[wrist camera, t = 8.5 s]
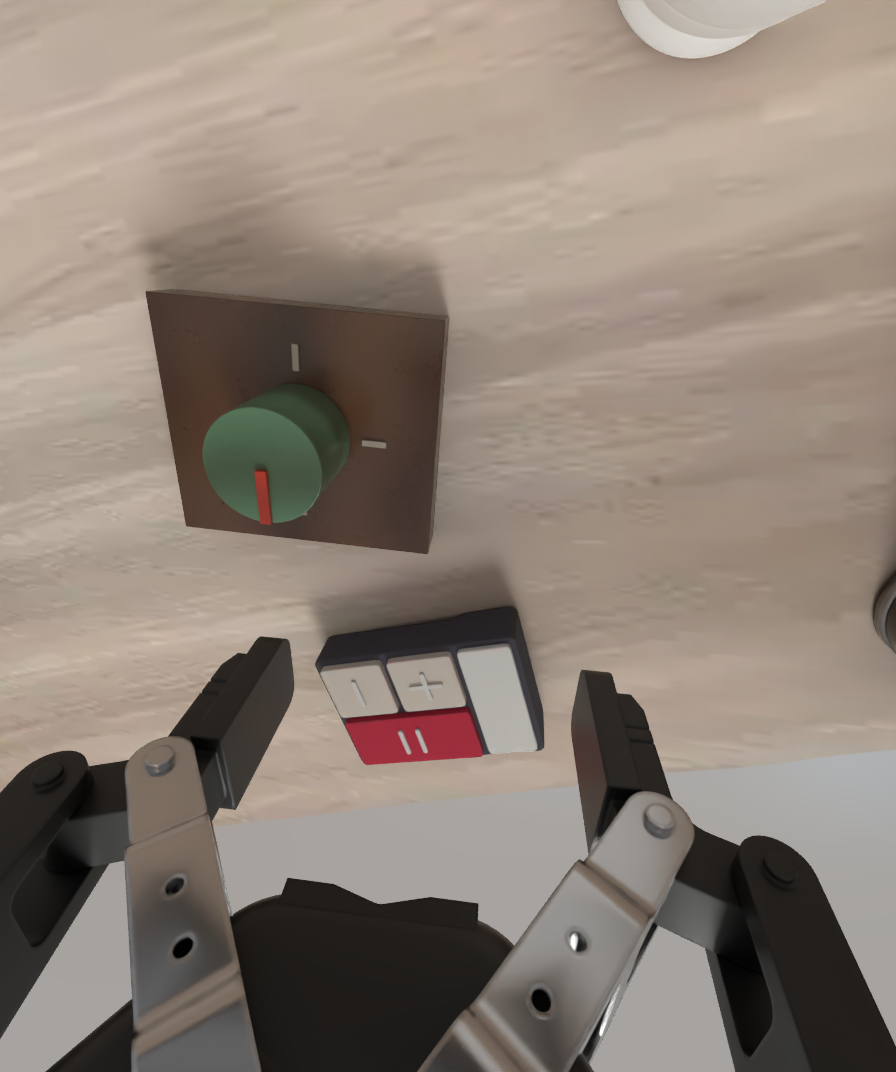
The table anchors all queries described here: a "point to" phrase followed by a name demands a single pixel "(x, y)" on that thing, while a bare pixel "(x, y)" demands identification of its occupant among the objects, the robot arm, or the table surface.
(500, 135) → the table surface
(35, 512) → the table surface
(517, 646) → the calculator
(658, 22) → the jar
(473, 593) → the table surface
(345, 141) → the table surface
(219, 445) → the knob
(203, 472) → the base
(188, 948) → the robot arm
